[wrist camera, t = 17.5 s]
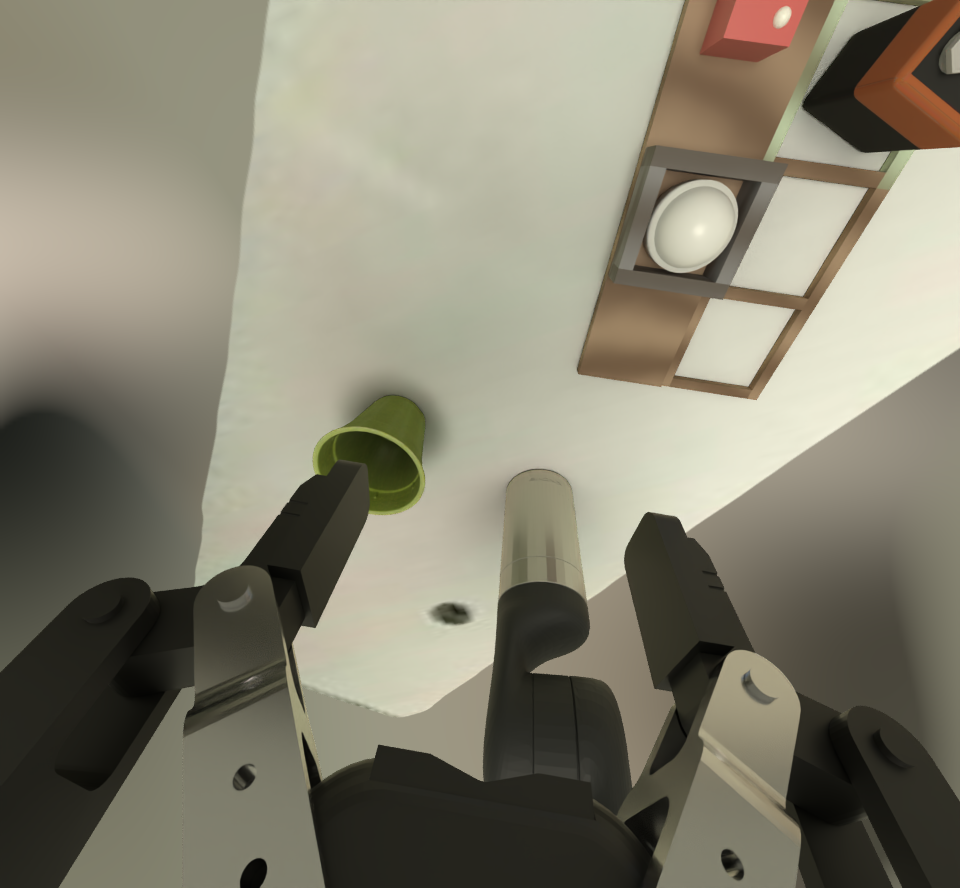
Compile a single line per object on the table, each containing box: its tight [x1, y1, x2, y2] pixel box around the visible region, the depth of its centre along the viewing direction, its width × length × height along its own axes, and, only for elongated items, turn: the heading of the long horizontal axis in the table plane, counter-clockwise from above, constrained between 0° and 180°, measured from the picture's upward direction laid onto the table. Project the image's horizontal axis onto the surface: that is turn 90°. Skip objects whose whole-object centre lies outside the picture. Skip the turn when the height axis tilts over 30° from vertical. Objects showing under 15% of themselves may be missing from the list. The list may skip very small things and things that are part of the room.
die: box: [700, 0, 809, 62], centre depth 23 cm, size 4×4×4 cm
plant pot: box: [313, 395, 425, 515], centre depth 44 cm, size 12×12×11 cm
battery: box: [804, 0, 960, 153], centre depth 23 cm, size 4×7×10 cm, turn 64°
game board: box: [577, 0, 932, 400], centre depth 31 cm, size 30×20×4 cm, turn 173°
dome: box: [643, 179, 738, 273], centre depth 30 cm, size 6×6×6 cm
